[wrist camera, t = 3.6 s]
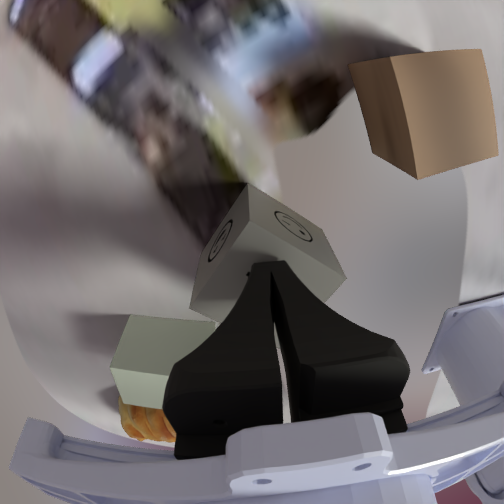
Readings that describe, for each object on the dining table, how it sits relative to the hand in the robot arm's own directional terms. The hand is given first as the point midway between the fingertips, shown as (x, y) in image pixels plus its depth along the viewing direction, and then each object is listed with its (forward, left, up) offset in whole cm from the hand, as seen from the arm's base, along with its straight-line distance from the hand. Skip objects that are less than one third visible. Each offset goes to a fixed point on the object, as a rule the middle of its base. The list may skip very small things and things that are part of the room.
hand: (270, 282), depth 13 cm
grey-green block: (+7, +8, -5) cm, 12 cm away
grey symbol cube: (0, +1, -6) cm, 6 cm away
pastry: (+10, +17, -6) cm, 21 cm away
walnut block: (-8, -7, -5) cm, 12 cm away
